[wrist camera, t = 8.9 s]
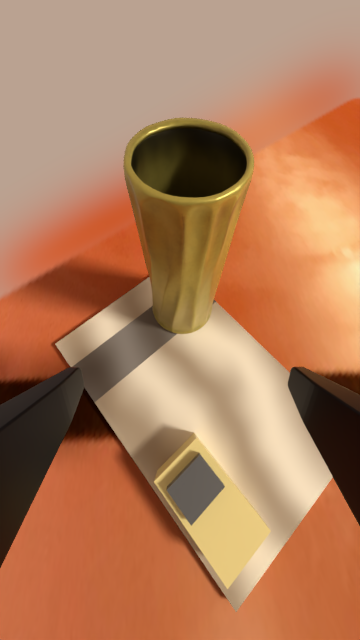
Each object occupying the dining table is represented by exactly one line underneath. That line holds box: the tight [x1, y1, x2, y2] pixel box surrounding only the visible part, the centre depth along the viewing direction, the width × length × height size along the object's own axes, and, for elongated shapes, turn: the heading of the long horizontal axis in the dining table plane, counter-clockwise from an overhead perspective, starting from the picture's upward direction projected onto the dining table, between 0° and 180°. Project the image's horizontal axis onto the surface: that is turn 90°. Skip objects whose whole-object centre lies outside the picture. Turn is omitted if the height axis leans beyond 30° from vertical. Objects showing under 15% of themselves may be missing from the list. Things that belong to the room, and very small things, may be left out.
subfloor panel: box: [55, 277, 333, 612], centre depth 19 cm, size 15×24×1 cm, turn 41°
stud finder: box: [154, 433, 271, 589], centre depth 14 cm, size 7×4×3 cm, turn 41°
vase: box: [124, 118, 254, 334], centre depth 15 cm, size 6×6×14 cm
